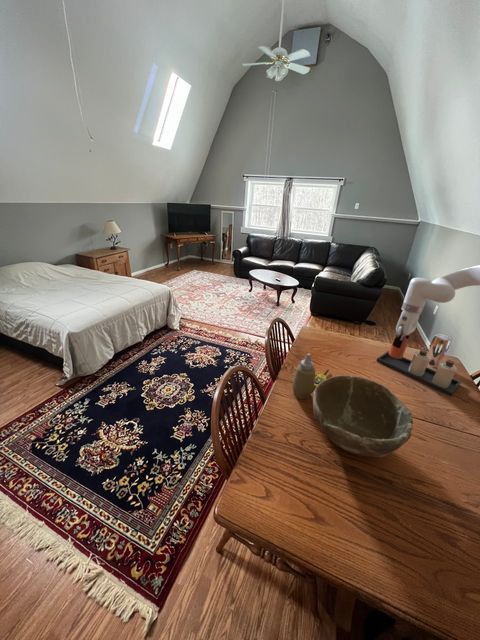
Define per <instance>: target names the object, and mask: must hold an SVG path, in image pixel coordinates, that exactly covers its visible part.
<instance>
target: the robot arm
mask: <svg viewBox="0 0 480 640" xmlns="http://www.w3.org/2000/svg"><path fill="white" fill-rule="evenodd" d="M473 286H474V287H475V286H480V264H478V265H474V266H470V267H466V268H462V269H458V270H455V271H451V272H449V273H446V274H444V275H441V276H439V277H437V278H435V279H433V280H432V281H431V280H430V279H428V278H425V277H413V278H412V279H411V280H410V281H409V285H408V286H407V291H406V293H405V297H404V299H403V302H402V306H401V310H402V312H401V314H400V316H399V319H398V321H397V323H396V326H395V335H394V337H395V339H394V338H393V339H394V342H393V341H392V342H393V346H395V347H397V348H400V347H401V344H402V342H403V340H402V339H403V337H404V335H406V337H405V338H407V339H408V340H409V338H410V335H411V334H412V333H414V332H415V331H416V329H417V326H418V322H419V320H420V316H421V314H422V313H423V310H424V308H425V305H426V302H427V301H429V300H430V301H433V302H435V303H440V304H444V303H449V302H451V301H452V300H454V298H455V297H456V290H460V289H463V288H466V287H467V288H468V287H473ZM400 334H402V336H401V335H400Z"/></svg>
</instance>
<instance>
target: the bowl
mask: <svg viewBox="0 0 480 640" xmlns="http://www.w3.org/2000/svg"><path fill="white" fill-rule="evenodd" d="M312 408H313V415H314V418H315V420H316V422H317V424H318V426H319V428H320V429H321V430H322V432H323V434H325V436H326V437H328V439H329V440H330V441H331V442H332V443H334V445H336V446H337V447H339V448H340V449H342V450H344V451H345V452H348V453H351V454H353V455H357V456H359V457H372V458H383V457H386V456H387V455H390V454H391V453H393V452H395V451H397V450H399V449H400V448H401V447H403V446H404V445H405V444H406V443H407V442H408V441H409V439H410V438H411V437H412V435H411V433H412V430H413V427H414V426H413V424H414V423H413V422H414V420H413V415H412V412H411V411H410V409H409V408H408V407H407V405H405V403H404V402H403V401H402V400H401V399H399V397H398V396H396V394H394V393H393V392H392V391H391V390H390V389H389V388H388V387H386V386H384V385H383V384H381V383H379V382H377V381H374V380H371V379H367V378H365V377H362V376H356V375H351V376H350V375H347V374H345V375H344V374H341V375H340V374H339V375H334V376H331V377H327V378H326V380H324V381H322V382H321V383H319V384H318V386H317V387H316V389H315V388H314V390H313V396H312Z"/></svg>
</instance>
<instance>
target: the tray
mask: <svg viewBox="0 0 480 640" xmlns="http://www.w3.org/2000/svg"><path fill="white" fill-rule="evenodd" d="M411 361H412V359H409V358H406V357H404V356H403V358H401V359H397V358H393V357H391V356H390V355H389V350H387V351H386V352H385V353H383V354H382V355H380V356H379V357H377V358H376V362H377V363H380V364H382V365H383V366H385V367H388V368H389V369H392V370H394V371H396V372H398V373H400V374H402V375H405V376H406V377H409V378H411V379H413V380H415V381H417V382H419V383H421V384H424V385H426V386H428V387H431V389H434V390H436V391H439V392H440V393H442V394H445V395H447V396H448V397H452V396H453V394H454V393H455V392H456V391H457V389H459V387H460V386H461V384H462V382H461V381H459V380H457V379H454V378H453V379H452V381H451V383H450V385H449V387H448V388H442V387H440V386H438V385H436V384H434V383H433V382H432V380H433V377H434V375H435V373H436V371H437V370H434V369H431V367H428V366H427V367H426V370H425V372H424V374H423V376H416V375H414V374H412V373H410V372H409V371H408V369H409V366H410V364H411Z"/></svg>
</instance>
